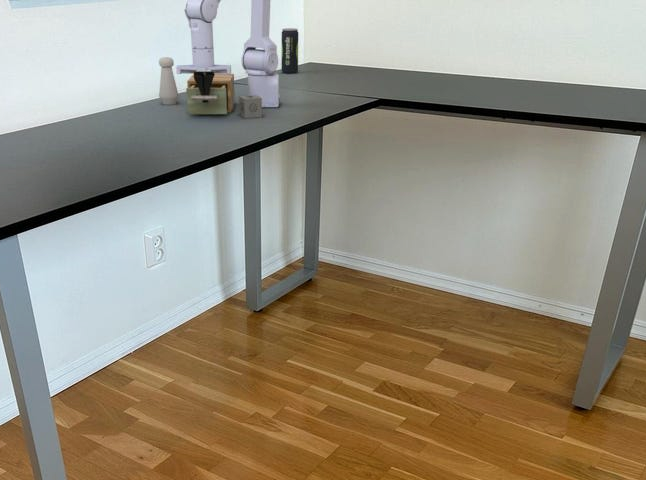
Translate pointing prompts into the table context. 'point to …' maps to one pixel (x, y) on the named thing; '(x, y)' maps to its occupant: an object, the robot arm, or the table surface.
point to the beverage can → (289, 50)
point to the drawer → (215, 100)
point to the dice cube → (250, 106)
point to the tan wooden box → (221, 79)
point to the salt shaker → (167, 82)
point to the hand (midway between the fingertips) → (205, 101)
